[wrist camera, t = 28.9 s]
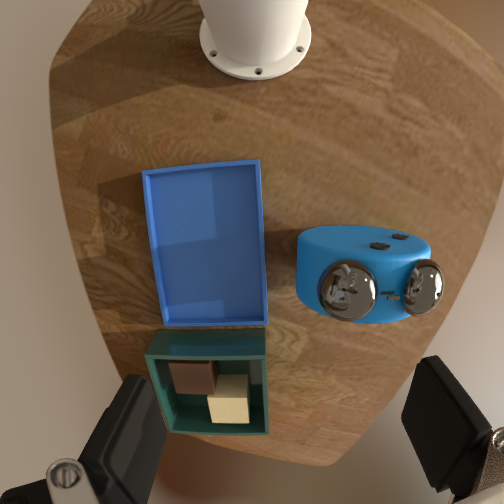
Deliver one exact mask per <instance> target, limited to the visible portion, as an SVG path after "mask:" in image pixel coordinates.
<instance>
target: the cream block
mask: <svg viewBox="0 0 504 504" xmlns="http://www.w3.org/2000/svg"><path fill="white" fill-rule="evenodd" d="M207 400H208V405H209V410H210V415H211V419H212V423H249V416H250V390H249V377H248V374H218V379H217V385H216V390H215V395H208V396H207Z"/></svg>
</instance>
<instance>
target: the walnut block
mask: <svg viewBox="0 0 504 504" xmlns="http://www.w3.org/2000/svg"><path fill="white" fill-rule="evenodd" d="M168 364H169V368H170V372H171V376H172V380H173V383H174V387H175V391H176V393H178V394H201V395H215V390H216V385H217V379H218V374H219V368H218V361H217V360H169V363H168Z"/></svg>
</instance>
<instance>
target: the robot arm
mask: <svg viewBox="0 0 504 504" xmlns="http://www.w3.org/2000/svg"><path fill="white" fill-rule="evenodd" d="M198 2H199V4H200V7H201V9H202V12H203V14H204V19H203V21H202V24H201V27H200V35H199V37H200V44H201V47H202V49H203V52H204V53H205V55H206V57H207V59H208V60H209V61H210V62H211V63H212V64H213V65H214V66H215V67H216V68H218V69H219V70H220V71H222V72H224V73H226V74H228V75H230V76H233V77H236V78H240V79H246V80H265V79H271V78H274V77H277V76H280V75H283V74H285V73H286V72H288V71H290V70H292V69H293V68H294V67H295V66H297V65H298V64H299V63H300V61H301V60H302V59H303V58H304V56H305V54H306V52H307V50H308V48H309V45H310V41H311V30H310V25H309V22H308V20H307V18H306V16H305V15H304V13H305V10H306V6H307V3H308V0H198ZM298 50H300V51H301V53H300V52H297V51H298ZM213 55H216V56H215V57H212V56H213ZM257 72H260V73H261V74H260V75H257V74H256V73H257ZM401 419H402V423H403V425H404V428H405V430H406V432H407V434H408V436H409V438H410V440H411V442H412V445H413V447H414V449H415V451H416V454H417V456H418V458H419V460H420V463H421V465H422V467H423V470H424V472H425V474H426V477H427V479H428V481H429V484H430V485H431V487H433V488H434V487H435V489H436V491H437V493H439V492H442V491H444V490H447V489H449V488H450V490H451V492H452V494H451V497H450V500H449V502H448V504H504V427H501V428H498V429H497V430H495V431H494V432H493V431H492V429H491V428H492V426H491V425H490V424H489V422H488V421H487V419H486V418H485V417H484V415H483V414H482V413H481V411H480V410H479V408H478V407H477V406H476V404H475V403H474V402H473V400H472V399H471V397H470V396H469V395H468V393H467V392H466V391H465V390H464V388H463V387H462V386H461V384H460V383H459V382H458V380H457V379H456V378H455V377H454V375H453V374H452V373H451V372H450V370H449V369H448V368H447V366H446V365H445V364H444V363H443V361H442V360H441V359H440V358H439V357H438V356H436V355H435V356H430V357H425V358H422V359H421V361H420V363H418V364H417V366H416V369H415V373H414V376H413V380H412V383H411V387H410V390H409V393H408V396H407V400H406V403H405V406H404V409H403V412H402V415H401ZM166 440H167V428H166V425H165V423H164V420H163V417H162V414H161V411H160V409H159V406H158V403H157V400H156V397H155V394H154V391H153V388H152V384H151V382H150V380H146V377H145V376H143V375H132V374H129V375H127V376H126V378H125V380H124V382H123V383H122V385H121V387H120V388H119V390H118V392H117V394H116V395H115V397H114V399H113V401H112V402H111V405H110V406H109V407H108V408H106V410H105V411H104V413H103V415H102V416H101V418H100V420H99V422H98V424H97V425H96V427H95V429H94V431H93V433H92V434H91V436H90V438H89V440H88V442H87V444H86V445H85V447H84V449H83V451H82V453H81V455H80V457H79V458H78V460H77V461H76V460H74V459H70V458H64V459H59V460H57V461H55V462H53V463H52V464H51V465H50V466H49V468H48V469H47V473H46V479H43V480H39V481H36V482H33V483H30V484H26V485H23V486H19V487H16V488H12V489H9V490H7V491H5V492H4V493H3V494H2V496H1V498H0V504H147V502H148V498H149V495H150V492H151V488H152V485H153V481H154V478H155V475H156V472H157V469H158V465H159V462H160V459H161V456H162V452H163V449H164V446H165V443H166Z"/></svg>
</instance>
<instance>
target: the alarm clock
mask: <svg viewBox="0 0 504 504" xmlns="http://www.w3.org/2000/svg"><path fill="white" fill-rule="evenodd" d="M430 253H431V249H430V246H429V245H428V243H426V242H425V241H424V240H423V239H421V238H419V237H416V236H414V235H411V234H408V233H404V232H400V231H396V230H391V229H386V228H379V227H371V226H358V225H331V226H321V227H315V228H310V229H307V230H305V231H303V232H302V233H301V234H300V235H299V236H298V244H297V274H296V292H297V295H298V297H299V298H300V300H301V301H302V302H303V303H304V304H305V305H306V306H308V307H309V308H311V309H312V310H314V311H316V312H318V313H320V314H322V315H325V316H328V317H331V318H334V319H336V320H340V321H345V322H353V323H362V324H381V323H389V322H394V321H398V320H402V319H405V318H407V317H409V316H411V315H412V316H423V315H426V314H428V313H430V312H431V311H432V310H433V309H434V308H435V307H436V306H437V305H438V303H439V302H440V300H441V298H442V296H443V292H444V285H445V282H444V275H443V272H442V270H441V268H440V266H439V265H438V264H437V263H436V262H435V261H433V260H430Z"/></svg>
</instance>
